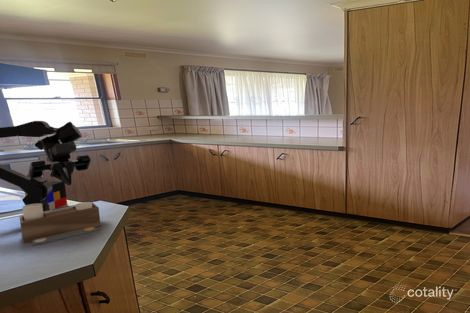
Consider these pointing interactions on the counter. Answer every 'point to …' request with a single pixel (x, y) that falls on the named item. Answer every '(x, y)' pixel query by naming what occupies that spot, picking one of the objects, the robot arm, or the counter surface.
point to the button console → (59, 222)
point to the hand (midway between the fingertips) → (70, 184)
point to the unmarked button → (33, 211)
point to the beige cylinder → (83, 206)
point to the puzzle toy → (56, 195)
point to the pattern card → (63, 235)
